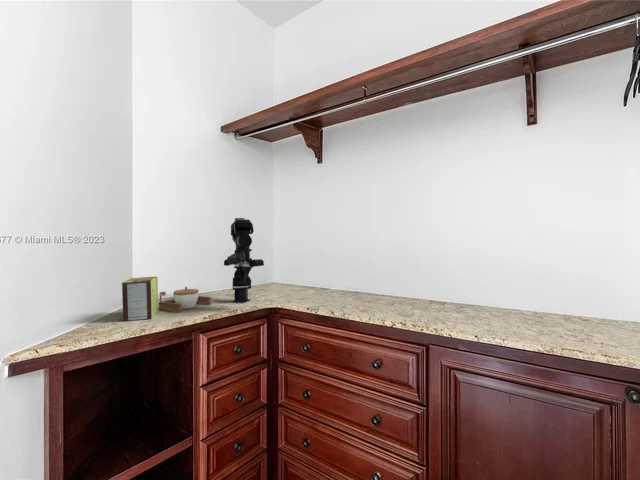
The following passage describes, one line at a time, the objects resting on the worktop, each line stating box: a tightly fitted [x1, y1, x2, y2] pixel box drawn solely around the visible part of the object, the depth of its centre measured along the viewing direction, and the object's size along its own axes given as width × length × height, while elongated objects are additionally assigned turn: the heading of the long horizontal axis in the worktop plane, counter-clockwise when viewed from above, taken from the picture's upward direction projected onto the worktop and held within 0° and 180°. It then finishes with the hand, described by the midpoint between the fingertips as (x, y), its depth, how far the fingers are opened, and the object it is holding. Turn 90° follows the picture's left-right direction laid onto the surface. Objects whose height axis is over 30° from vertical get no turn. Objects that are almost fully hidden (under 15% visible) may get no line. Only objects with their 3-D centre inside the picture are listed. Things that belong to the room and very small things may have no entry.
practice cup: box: [158, 291, 212, 314], centre depth 152 cm, size 18×13×8 cm
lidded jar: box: [173, 286, 199, 310], centre depth 152 cm, size 11×11×9 cm
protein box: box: [121, 276, 159, 322], centre depth 135 cm, size 10×15×16 cm
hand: (243, 281), depth 147 cm, fingers closed
